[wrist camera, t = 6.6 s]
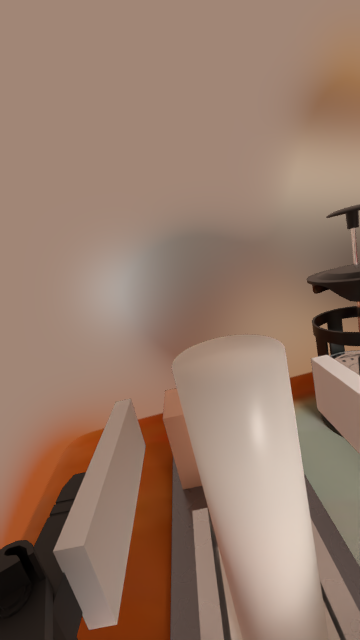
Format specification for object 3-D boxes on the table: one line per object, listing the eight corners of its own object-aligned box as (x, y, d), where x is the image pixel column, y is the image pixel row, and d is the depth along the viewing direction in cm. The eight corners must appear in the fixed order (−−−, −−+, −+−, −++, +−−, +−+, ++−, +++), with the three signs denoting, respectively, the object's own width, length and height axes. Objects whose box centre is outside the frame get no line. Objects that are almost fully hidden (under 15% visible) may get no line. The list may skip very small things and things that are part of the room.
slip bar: (276, 515, 18) (234, 295, 15) (451, 965, 7) (462, 438, 3) (219, 527, 19) (164, 312, 15) (293, 985, 7) (121, 509, 3)
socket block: (269, 432, 29) (258, 369, 27) (288, 467, 24) (276, 394, 22) (181, 451, 29) (165, 390, 28) (182, 489, 24) (162, 418, 23)
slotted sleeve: (273, 430, 31) (265, 382, 30) (804, 1361, 5) (957, 1342, 3) (176, 451, 32) (163, 405, 30) (178, 1404, 5) (77, 1407, 4)
